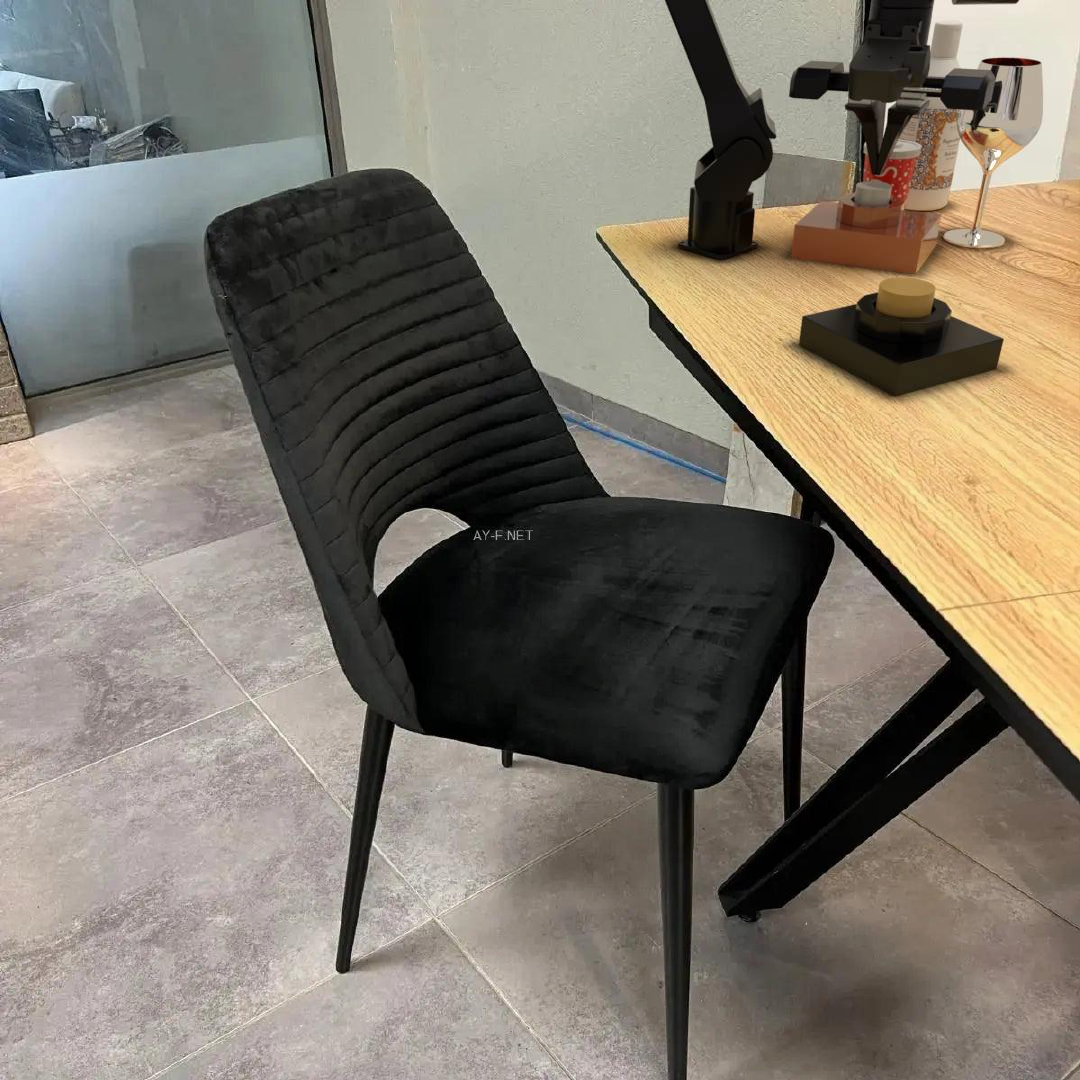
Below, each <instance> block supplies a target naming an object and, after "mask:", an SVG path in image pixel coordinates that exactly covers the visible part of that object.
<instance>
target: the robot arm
mask: <svg viewBox="0 0 1080 1080" xmlns="http://www.w3.org/2000/svg"><path fill="white" fill-rule="evenodd" d="M1019 1H1020V0H951V4H952V5H953V6H955V5H956V6H962V5H963V6H965V5H967V6H969V5H970V6H971V5H973V6H974V5H1016V4H1018V3H1019ZM664 2H665V5H666V7H667V10H668V12H669V15H670V17H671V19H672V22H673V25H674V27H675V30H676V33H677V35H678V37H679V40H680V42H681V44H682V47H683V50H684V52H685V55H686V57H687V60H688V62H689V65H690V68H691V70H692V72H693V75H694V78H695V80H696V83H697V86H698V87H699V91H700V93H701V95H702V98H703V100H704V106H705V111H706V116H707V117H706V118H707V122H708V128H709V133H710V139H711V144H712V146H711V147H710V148H709V149H708V150H707V151H706V152H705V153H704V154H703V155H702V156H701V157H700V158H699V159H697V161H696V164H695V172H694V179H693V180H694V181H693V185H694V186H691V187H690V188H689V202H688V203H689V204H688V205H689V206H688V223H687V239H683V240H681V241H678V242H677V248H680V249H683V250H686V251H689V252H693V253H696V254H699V255H702V256H706V257H710V258H713V259H716V260H725V259H728V258H730V257H734V256H736V255H739V254H742V253H744V252H745V253H746V252H748V251H751V250H753V249H754V250H755V249H756V248H758V247H759V241H756V240H753V239H754V229H755V228H754V226H755V215H756V209H755V208H754V195H755V192H754V191H750V188H751V186H752V185H753V182H755V181H758V179H760V178H762V177H763V176H764V175H765V174H766V173H767V172H768V170H769V168H770V166H771V164H772V161H773V159H774V148H773V140H776V139H777V132H776V131H777V130H776V124H775V121H774V120H773V119H772V118H771V117H770V115H769V114H768V112H767V109H766V106H765V100H764V95H763V90H762V88H757V89H756V90H755V91H754V92H752V93H751V94H749V93H748V91H747V89H746V88H745V87H744V85H743V84H742V83H741V81H740V79H739V78H738V75H737V72H736V70H735V67H734V66H733V63H732V60H731V57H730V54H729V51H728V49H727V46H726V44H725V42H724V38H723V36H722V34H721V31H720V28H719V24H718V23H717V21H716V17H715V16H714V15H715V14H714V12H713V10H712V6H711V4H710V2H709V0H664ZM934 5H935V0H871V2H870V8H869V9H870V10H869V16H868V19H867V21H866V27H865V30H864V35H863V39H862V40H861V43H860V45H859V47H858V48H857V50H856V52H855V53H854V55H853V57H852V58H851V61H850V62H849V66H848V68H849V69H848V71H845V66H844V62H843V61H826V60H824V61H823V60H810V61H808V62H806V63H803V64H802V65H800V66H798V67H797V68H796V69H795V70H794V71H793V72H792V75H791V78H790V83H789V90H788V91H789V92H788V97H789V98H791V99H798V100H799V99H801V100H815V101H818V100H819V99H821V98H822V97H823V96H824V95H825V94H827V92H829V91H830V92H842V93H843V92H844V93H847V102H846V103H844V110H845V111H847V112H853V113H854V115H855V116H856V118H857V120H858V121H859V124H860V127H861V130H862V132H863V136H864V141H865V142H866V147H867V152H868V157H869V163H870V168H871V173H872V175H881V173H882V172H883V170H884V168H885V166H886V164H887V162H888V160H889V158H890V156H891V154H892V152H893V150H894V148H895V146H896V144H897V142H898V140H899V138H900V136H901V134H902V132H903V131H904V129H905V127H906V126H907V124H908V123H909V121H910V120H911V118H912V116H913V115H919V114H920V113H922V112H923V111H924V110H925V109H926V108H927V107H928V106H929V103H930V100H928V98H929V97H937V98H940V100H941V101H942V103H943V104H944V105H945V107H946V108H947V109H960V110H975V111H976V110H983V109H984V108H985V107H986V105H987V104H988V103H989V102H990V101H991V99H992V94H993V89H994V84H995V76H994V74H993V73H992V71H991V70H980V69H977V68H962V67H961V68H954V69H953V70H952V71H951V72H949V73H948V74H947V75H946V77H934V76H928V73H929V68H930V58H931V55H930V51H931V44H928V41H929V36H930V29H931V25H932V19H933V13H934ZM892 103H894V104H892ZM887 104H892V105H891V106H890V107H888V109H887ZM886 109H887V115H886ZM885 120H886V122H885ZM885 123H886V124H885ZM865 142H864V143H865Z"/></svg>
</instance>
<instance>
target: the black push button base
mask: <svg viewBox="0 0 1080 1080" xmlns="http://www.w3.org/2000/svg"><path fill="white" fill-rule="evenodd" d="M877 296H878V291H877V292H873V293H869V294H865V295H863V296H862V297H861V298H860V299H859V300H857V302H856V303H854V304H851V305H846V306H842V307H836V308H832V309H828V310H824V311H819V312H814V313H811V314H806V315H802V317H801V323H800V332H799V341H798V345H799V346H800V347H802V348H803V349H805V350H807V351H809V352H811V353H813V354H814V355H816V356H819V357H820V358H822V359H824V360H826V361H827V362H829V363H831V364H833V365H834V366H837V367H838V368H840V369H843V370H844V371H846V372H847V373H850V374H852V375H853V376H855V377H857V378H859V379H860V380H863V381H865V382H866V383H868V384H870V385H872V386H874V387H876V388H878V389H879V390H881V391H883V392H884V393H886V394H888V395H890V396H892V397H898V396H901V395H902V396H903V395H906V394H910V393H913V392H917V391H920V390H924V389H928V388H931V387H935V386H939V385H943V384H946V383H950V382H954V381H957V380H960V379H964V378H968V377H971V376H972V377H973V376H975V375H979V374H984V373H986V372H990V371H994V370H997V369H998V365H999V361H1000V357H1001V352H1002V348H1003V343H1004V340H1005V339H1004V338H1003V337H1001V336H999V335H997V334H995V333H991V332H990V331H987V330H985V329H983V328H980V327H977V326H975V325H973V324H970V323H968V322H965V321H964V320H962V319H959V318H958V317H954V316H952V313H953V312H952V309H951V308H950V306H949V305H948V303H947V302H945V301H943V300H941V299H939V298H936V297H934V300H933V305H932V310H931V315H928V316H923V317H919V318H911V317H897V316H892V315H887V314H884V313H882V312H880V311H878V310H876V302H877Z"/></svg>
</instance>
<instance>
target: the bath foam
mask: <svg viewBox="0 0 1080 1080" xmlns="http://www.w3.org/2000/svg"><path fill="white" fill-rule="evenodd" d="M963 25H964V23H963V22H962V21H958V20H939V21H936V22H935V23H934V28H933V33H932V38H931V39H932V40H931V44H930V55H931V58H930V68H929V73H928V76H934V77H946V75H947V74H948V73H949V72H951V71H952V70H953V69H954V68H961V69H962V67H961V65H960V62H959V61H958V57H957V56H958V52H959V47H960V42H961V35H962V30H963ZM928 100H930V103H929V106H928V107H927V108H926V109H925V110H924V111H923V112H922V113H920V114H919V115H913V116H912V118H911V120H910V121H909V123H908V124H907V126H906V127H905V129H904V131H903V132H902V134H901V136H900V138H899V140H907V141H912V142H916V143H918V144H920V145H921V151H920V155H919V156H917V158H916V162H915V167H914V171H913V175H912V179H911V184H910V188H909V192H908V197H907V201H906V205H905V209H904V210H907V211H916V212H929V211H936V210H941V209H942V208H944V207H945V206H947V204H948V203H949V199H950V193H951V188H952V184H953V179H954V173H955V168H956V163H957V157H958V153H959V147H960V142H961V139H960V137H959V134H958V131H957V117H958V113H959V110H960V109H947V108H946V107H945V105H944V104H943V103H942V101H941V100H940V98H937V97H929V98H928Z"/></svg>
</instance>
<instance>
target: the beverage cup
mask: <svg viewBox="0 0 1080 1080" xmlns="http://www.w3.org/2000/svg"><path fill="white" fill-rule="evenodd" d="M920 151H921V145H920V144H918V143H916V142H912V141H907V140H898V142H897V144H896V146H895V148H894V150H893V152H892V154H891V156H890V158H889V160H888V162H887V164H886V166H885V168H884V170H883V172H882V173H881V175H872V173H871V168H870V163H869V157H868V152H867V147H866V142H864V144H863V152H862V153H863V154H865V155H864V165H863V176H862V182H865V181H878V182H884V183H888V184H890V185H891V186H892V190H891V195H894V196H897V197H900V198H901V199H902V200H904V201H905V205H906V201H907V197H908V192H909V188H910V184H911V179H912V175H913V171H914V167H915V162H916V158H917V156H919V155H920ZM905 205H904V210H906V209H905Z"/></svg>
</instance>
